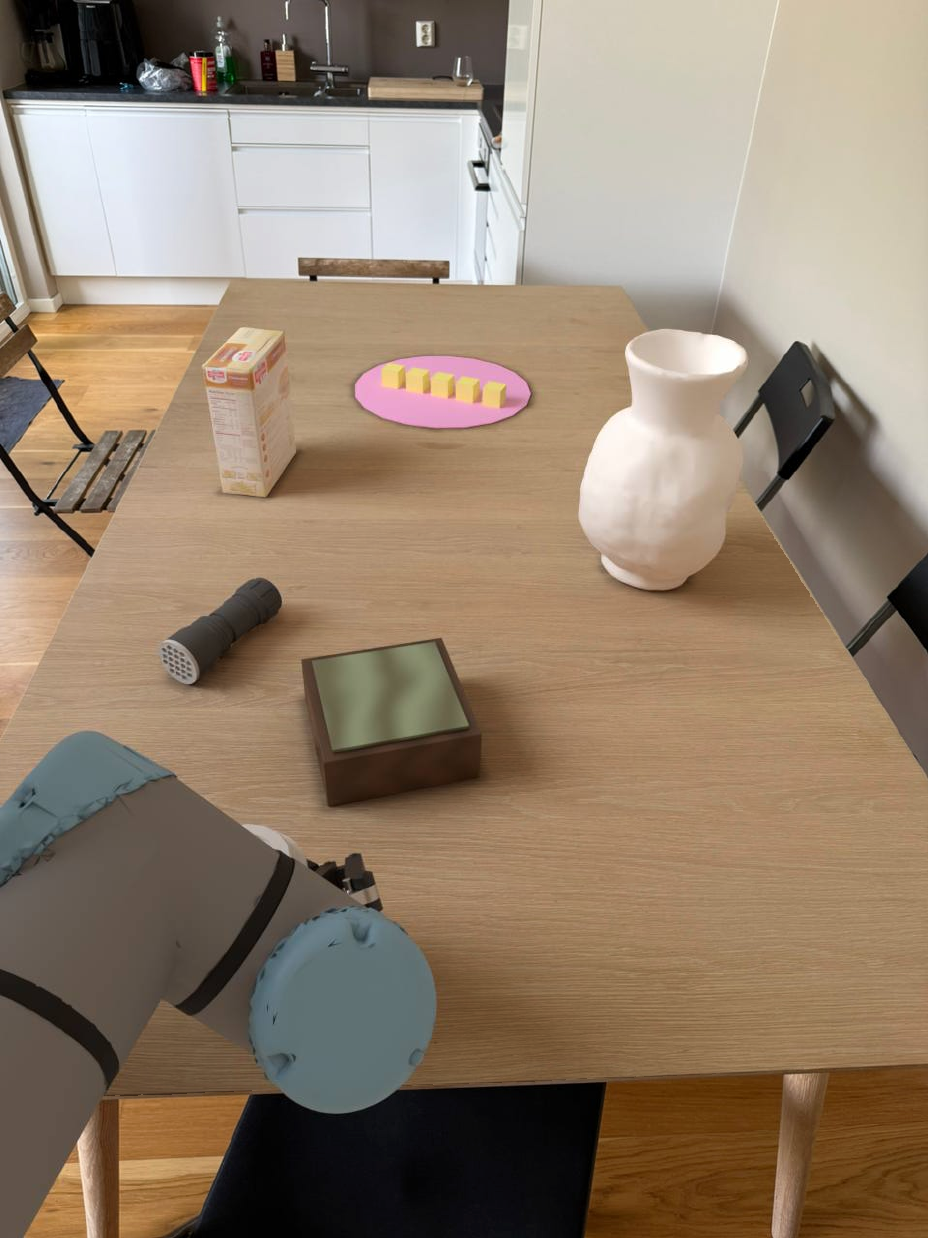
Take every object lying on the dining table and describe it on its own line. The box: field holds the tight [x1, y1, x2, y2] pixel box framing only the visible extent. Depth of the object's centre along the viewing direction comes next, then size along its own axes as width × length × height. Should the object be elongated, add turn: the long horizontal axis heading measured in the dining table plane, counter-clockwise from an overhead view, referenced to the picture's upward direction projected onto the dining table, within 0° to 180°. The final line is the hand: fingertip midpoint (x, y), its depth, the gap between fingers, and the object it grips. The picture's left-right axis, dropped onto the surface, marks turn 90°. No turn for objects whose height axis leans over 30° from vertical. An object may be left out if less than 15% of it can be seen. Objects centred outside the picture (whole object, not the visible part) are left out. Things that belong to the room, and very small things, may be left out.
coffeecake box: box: [201, 326, 297, 498], centre depth 129 cm, size 15×7×20 cm, turn 171°
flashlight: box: [157, 577, 283, 685], centre depth 101 cm, size 15×5×5 cm, turn 151°
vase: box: [577, 328, 749, 591], centre depth 108 cm, size 19×21×30 cm
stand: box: [301, 637, 483, 807], centre depth 89 cm, size 15×15×6 cm
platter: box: [354, 355, 532, 429], centre depth 161 cm, size 32×32×3 cm
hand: (242, 897), depth 69 cm, fingers closed on coffee cup, 9 cm apart
